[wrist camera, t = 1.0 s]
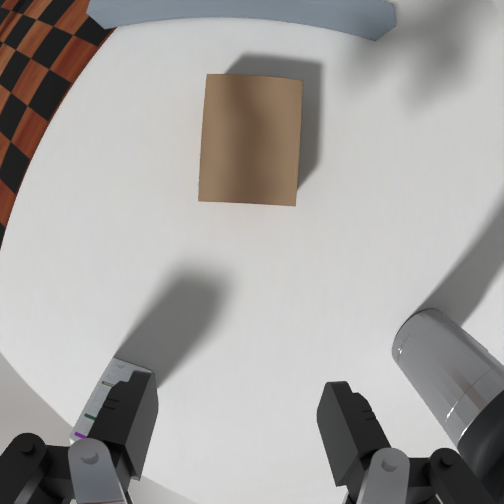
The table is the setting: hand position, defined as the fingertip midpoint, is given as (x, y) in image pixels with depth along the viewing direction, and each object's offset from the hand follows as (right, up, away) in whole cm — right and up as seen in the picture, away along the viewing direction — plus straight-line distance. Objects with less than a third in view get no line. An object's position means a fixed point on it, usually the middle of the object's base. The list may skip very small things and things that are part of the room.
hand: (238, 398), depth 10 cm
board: (-1, +31, +12) cm, 33 cm away
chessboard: (-38, +32, +11) cm, 51 cm away
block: (0, +16, +17) cm, 23 cm away
